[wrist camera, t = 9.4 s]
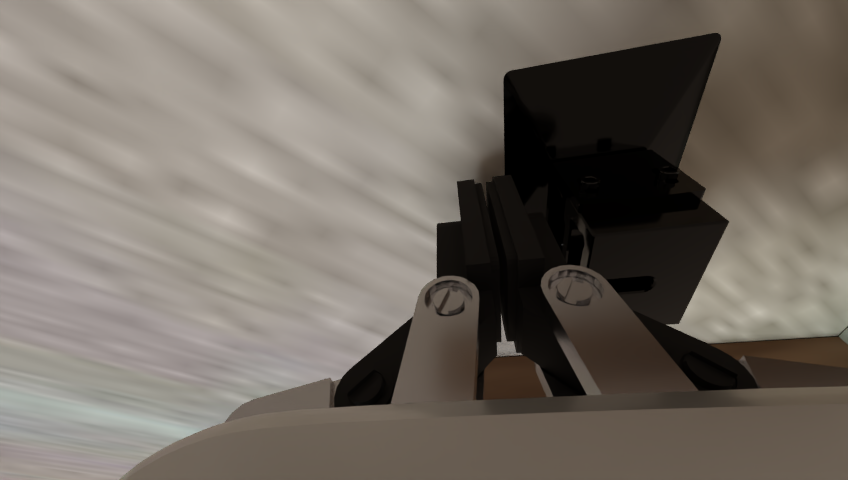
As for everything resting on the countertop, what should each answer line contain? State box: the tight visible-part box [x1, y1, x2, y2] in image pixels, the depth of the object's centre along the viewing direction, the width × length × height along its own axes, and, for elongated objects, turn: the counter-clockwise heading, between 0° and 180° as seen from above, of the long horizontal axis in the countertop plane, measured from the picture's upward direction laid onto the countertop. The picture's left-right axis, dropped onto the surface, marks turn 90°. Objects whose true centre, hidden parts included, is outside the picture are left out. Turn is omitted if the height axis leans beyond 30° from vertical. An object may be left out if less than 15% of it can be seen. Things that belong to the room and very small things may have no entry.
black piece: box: [504, 33, 729, 325], centre depth 10 cm, size 12×7×5 cm, turn 9°
